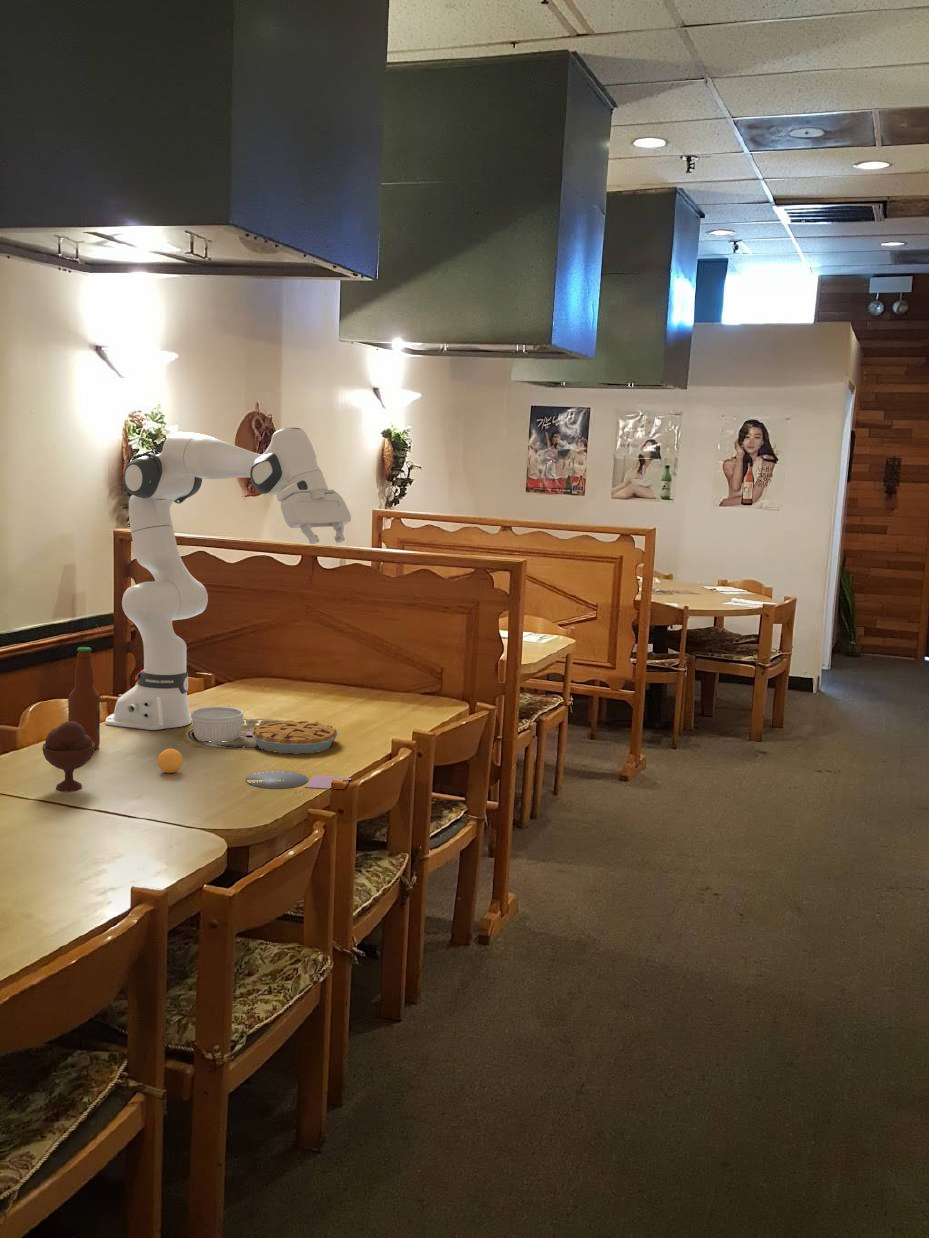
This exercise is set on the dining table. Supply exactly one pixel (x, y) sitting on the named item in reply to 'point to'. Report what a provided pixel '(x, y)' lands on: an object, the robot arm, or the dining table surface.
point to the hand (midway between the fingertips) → (328, 542)
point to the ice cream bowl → (68, 752)
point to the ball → (170, 760)
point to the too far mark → (322, 782)
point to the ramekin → (217, 723)
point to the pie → (294, 736)
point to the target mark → (289, 779)
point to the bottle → (85, 698)
